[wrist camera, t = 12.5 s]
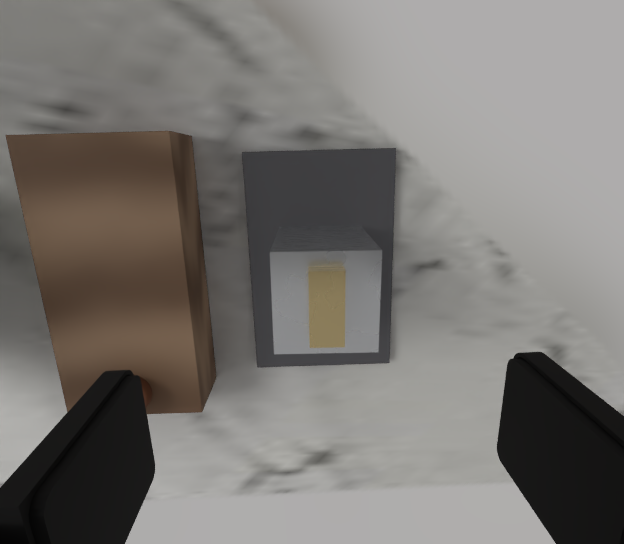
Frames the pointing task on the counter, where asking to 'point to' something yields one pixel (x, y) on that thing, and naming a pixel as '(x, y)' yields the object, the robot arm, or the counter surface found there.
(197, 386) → the brown knobbed block
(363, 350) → the lever cap
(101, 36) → the counter surface
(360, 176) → the rubber mat
